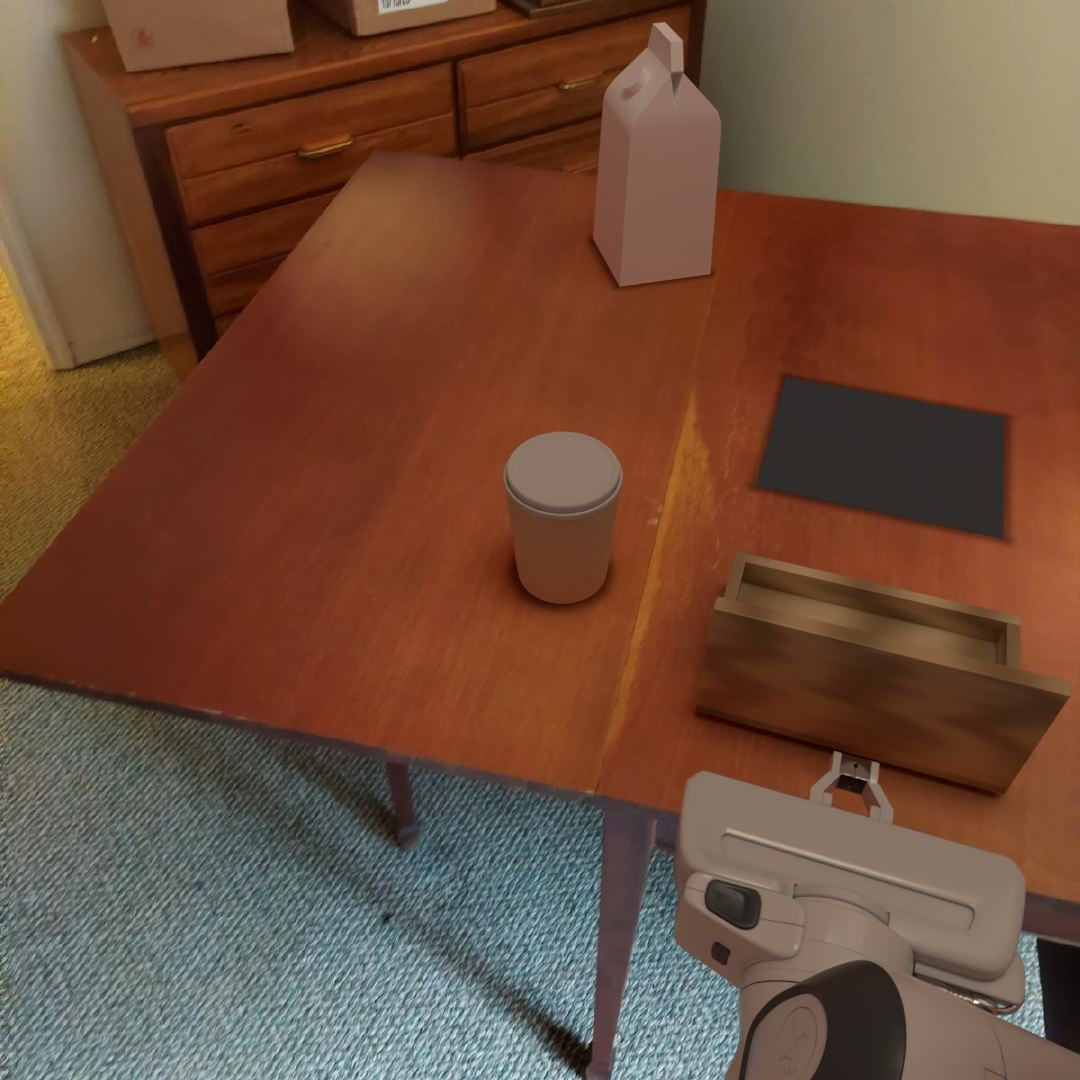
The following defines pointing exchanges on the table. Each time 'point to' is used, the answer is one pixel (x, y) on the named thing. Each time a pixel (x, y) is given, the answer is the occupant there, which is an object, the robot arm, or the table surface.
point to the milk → (657, 169)
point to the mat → (888, 456)
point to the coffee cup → (562, 513)
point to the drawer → (876, 672)
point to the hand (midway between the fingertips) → (854, 761)
